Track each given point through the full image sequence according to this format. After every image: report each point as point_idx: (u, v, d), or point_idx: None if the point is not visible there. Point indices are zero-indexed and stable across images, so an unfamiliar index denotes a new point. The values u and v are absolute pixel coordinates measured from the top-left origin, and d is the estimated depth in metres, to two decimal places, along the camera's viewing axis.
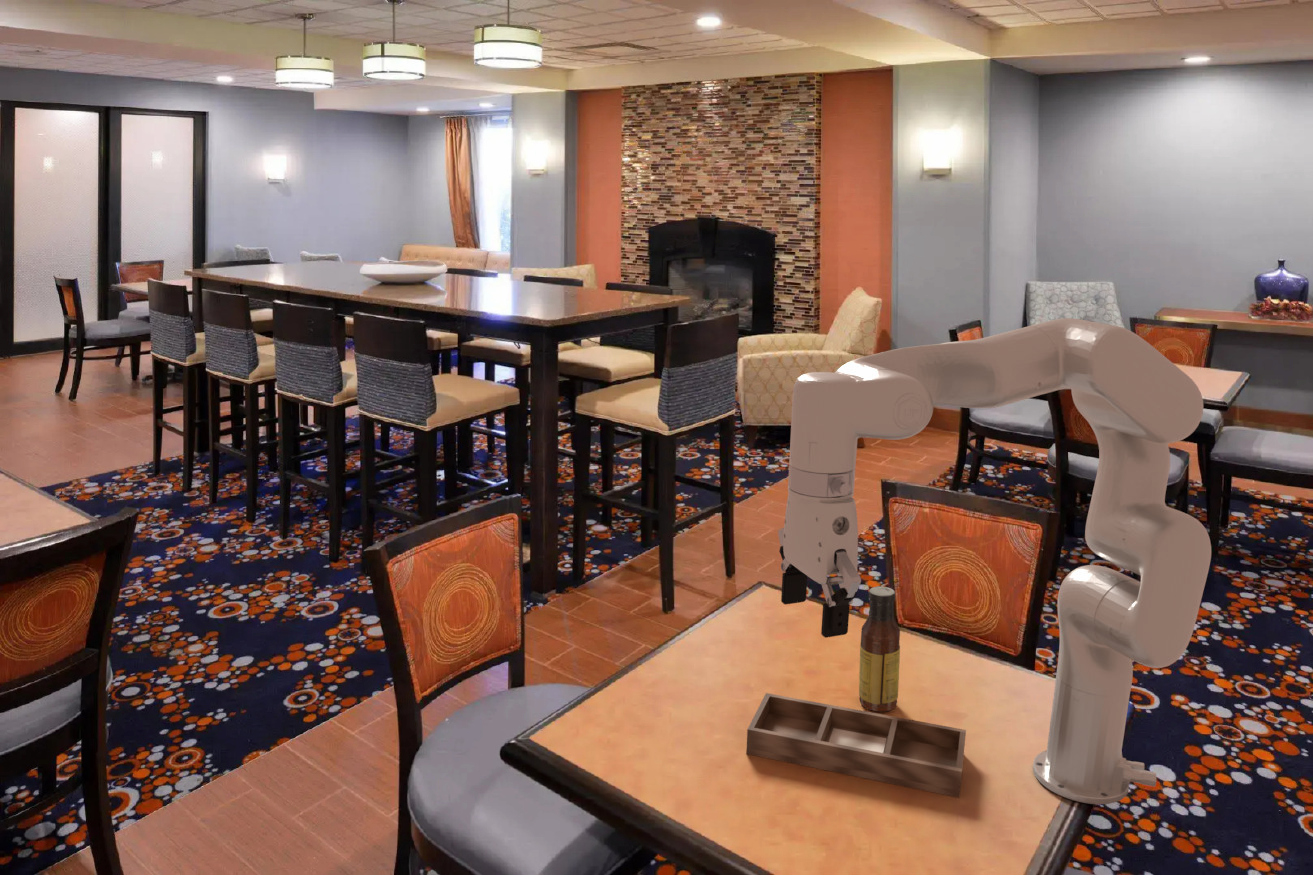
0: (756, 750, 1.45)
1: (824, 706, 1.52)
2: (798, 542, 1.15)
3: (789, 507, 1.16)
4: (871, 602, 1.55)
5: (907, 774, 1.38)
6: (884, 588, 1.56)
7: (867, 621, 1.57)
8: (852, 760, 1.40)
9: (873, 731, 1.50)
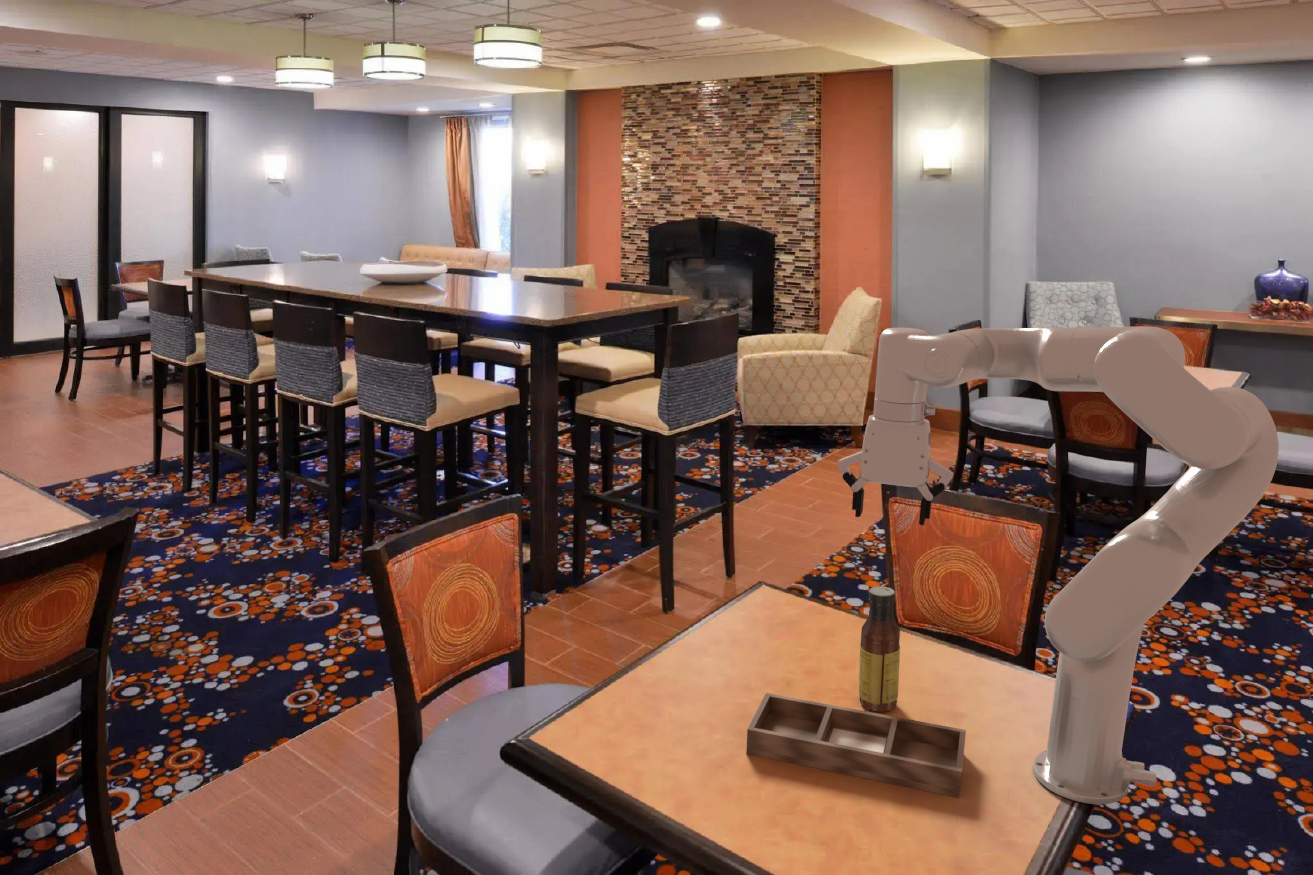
0: (756, 750, 1.45)
1: (824, 706, 1.52)
2: (891, 461, 1.48)
3: (875, 437, 1.48)
4: (871, 602, 1.55)
5: (907, 774, 1.38)
6: (884, 588, 1.56)
7: (867, 621, 1.57)
8: (852, 760, 1.40)
9: (873, 731, 1.50)
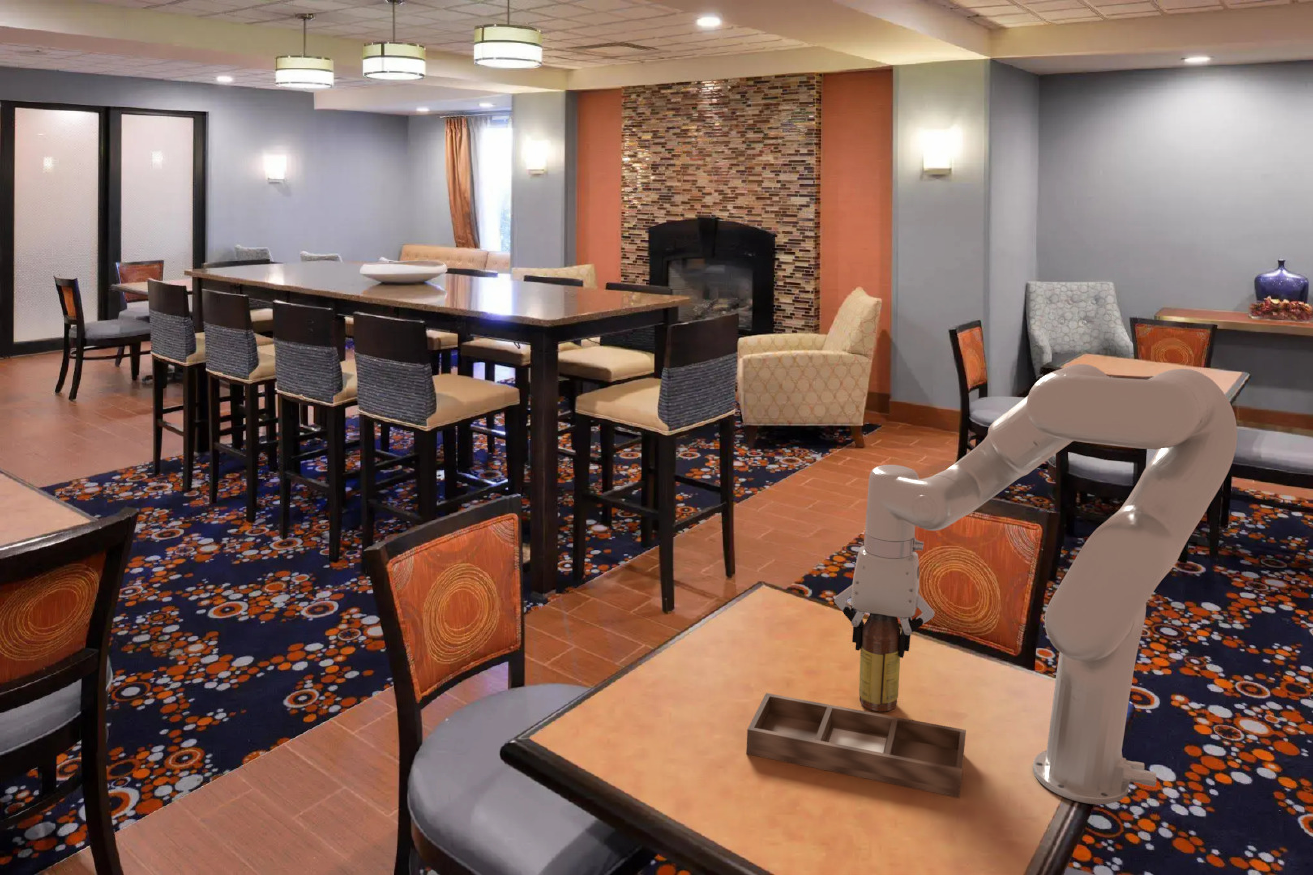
0: (756, 750, 1.45)
1: (824, 706, 1.52)
2: (881, 594, 1.53)
3: (866, 570, 1.54)
4: None
5: (907, 774, 1.38)
6: None
7: (868, 621, 1.57)
8: (852, 760, 1.40)
9: (873, 731, 1.50)
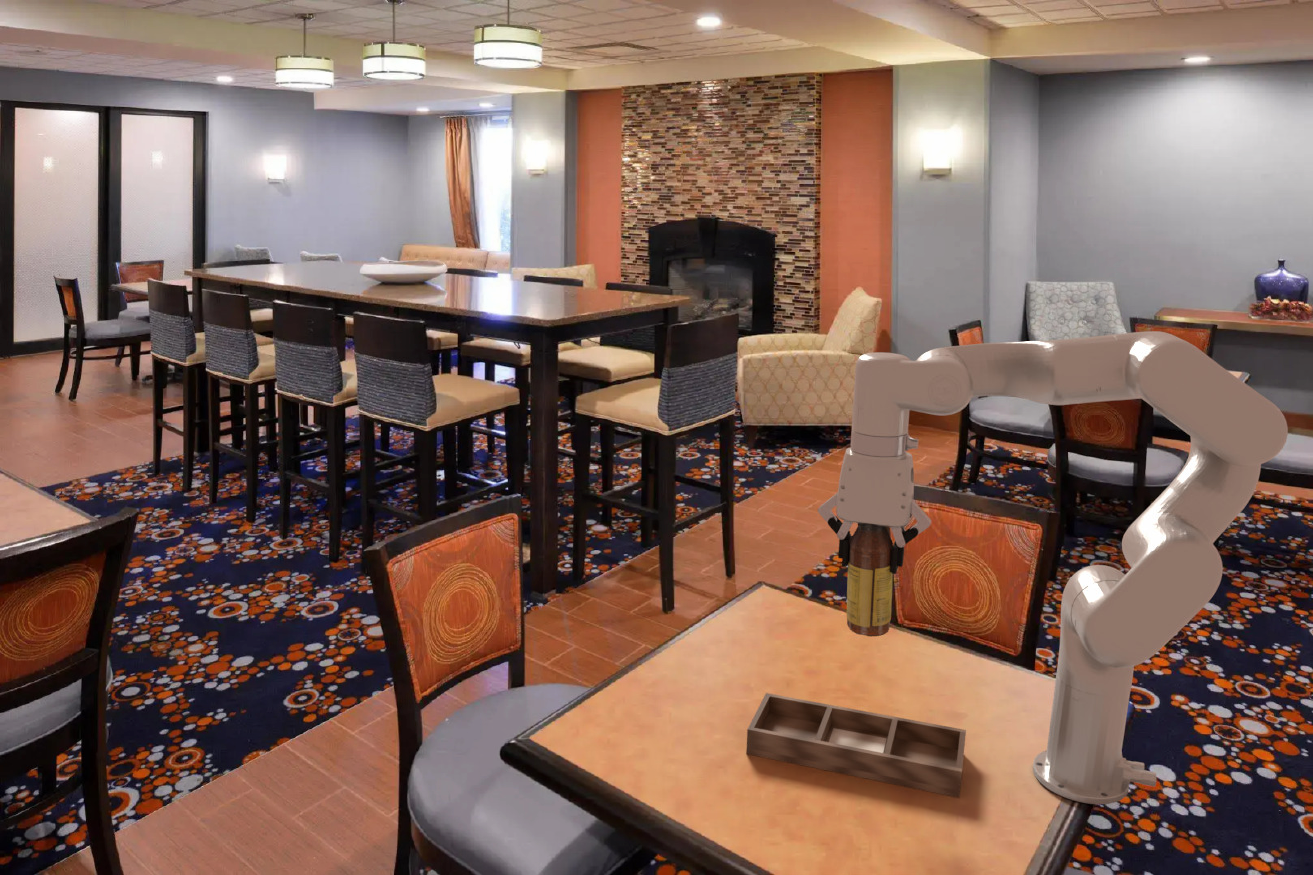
0: (756, 750, 1.45)
1: (824, 706, 1.52)
2: (870, 499, 1.35)
3: (853, 473, 1.35)
4: None
5: (907, 774, 1.38)
6: None
7: (856, 533, 1.38)
8: (852, 760, 1.40)
9: (873, 731, 1.50)
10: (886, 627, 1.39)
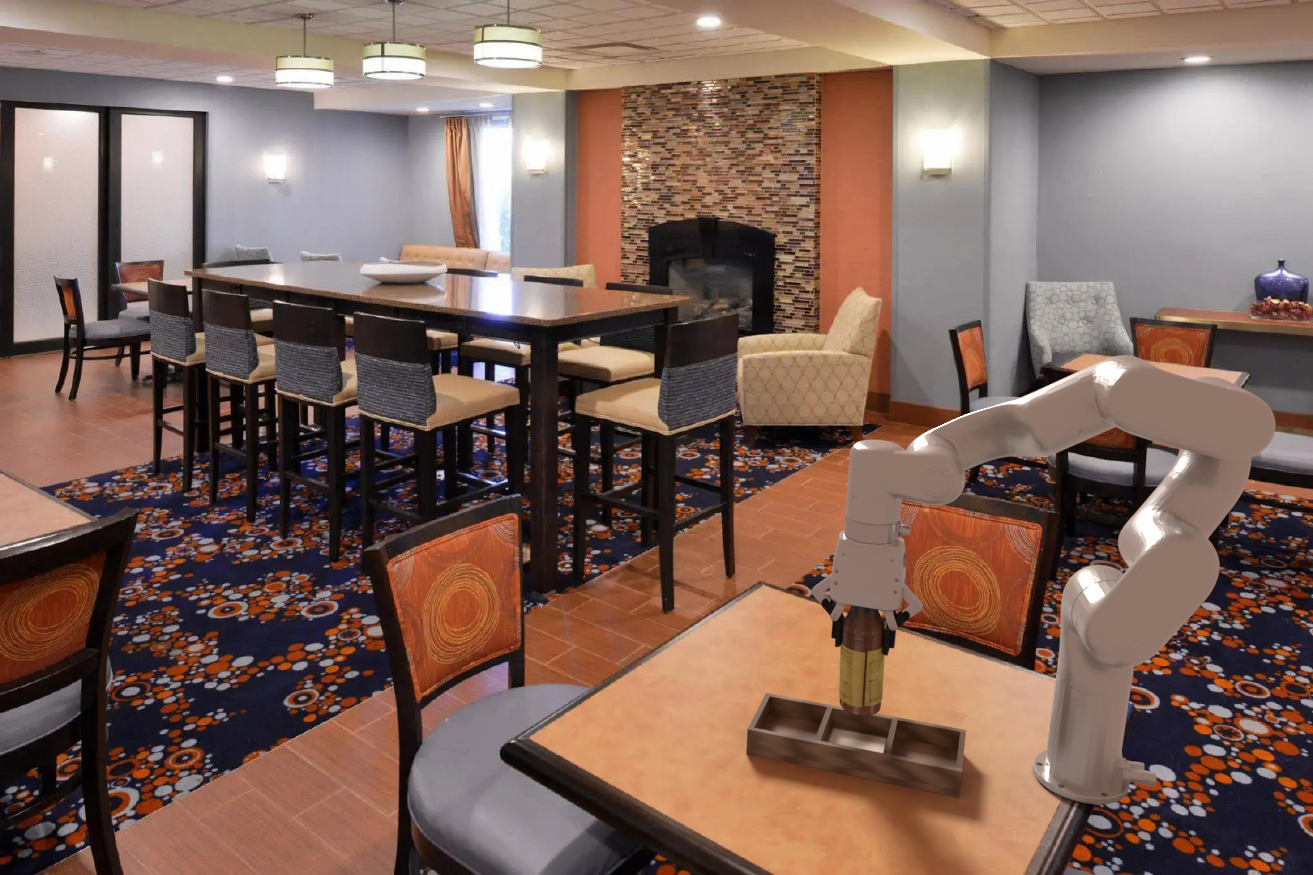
0: (756, 750, 1.45)
1: (824, 706, 1.52)
2: (863, 584, 1.37)
3: (846, 557, 1.37)
4: None
5: (907, 774, 1.38)
6: None
7: (848, 614, 1.41)
8: (852, 760, 1.40)
9: (873, 731, 1.50)
10: (878, 706, 1.42)
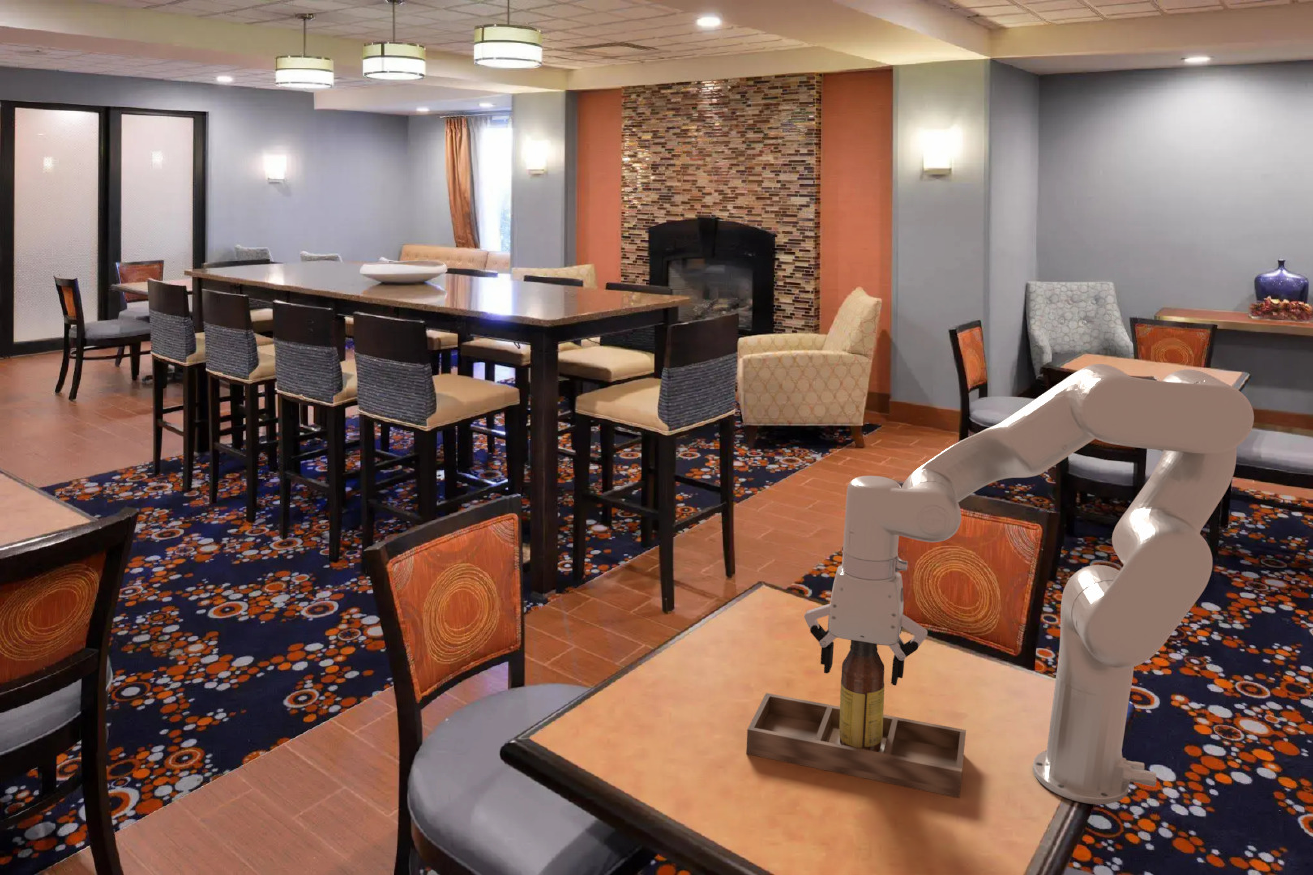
0: (756, 750, 1.45)
1: (824, 706, 1.52)
2: (861, 618, 1.39)
3: (844, 592, 1.39)
4: None
5: (907, 774, 1.38)
6: None
7: (848, 656, 1.42)
8: (852, 760, 1.40)
9: None
10: (878, 747, 1.43)
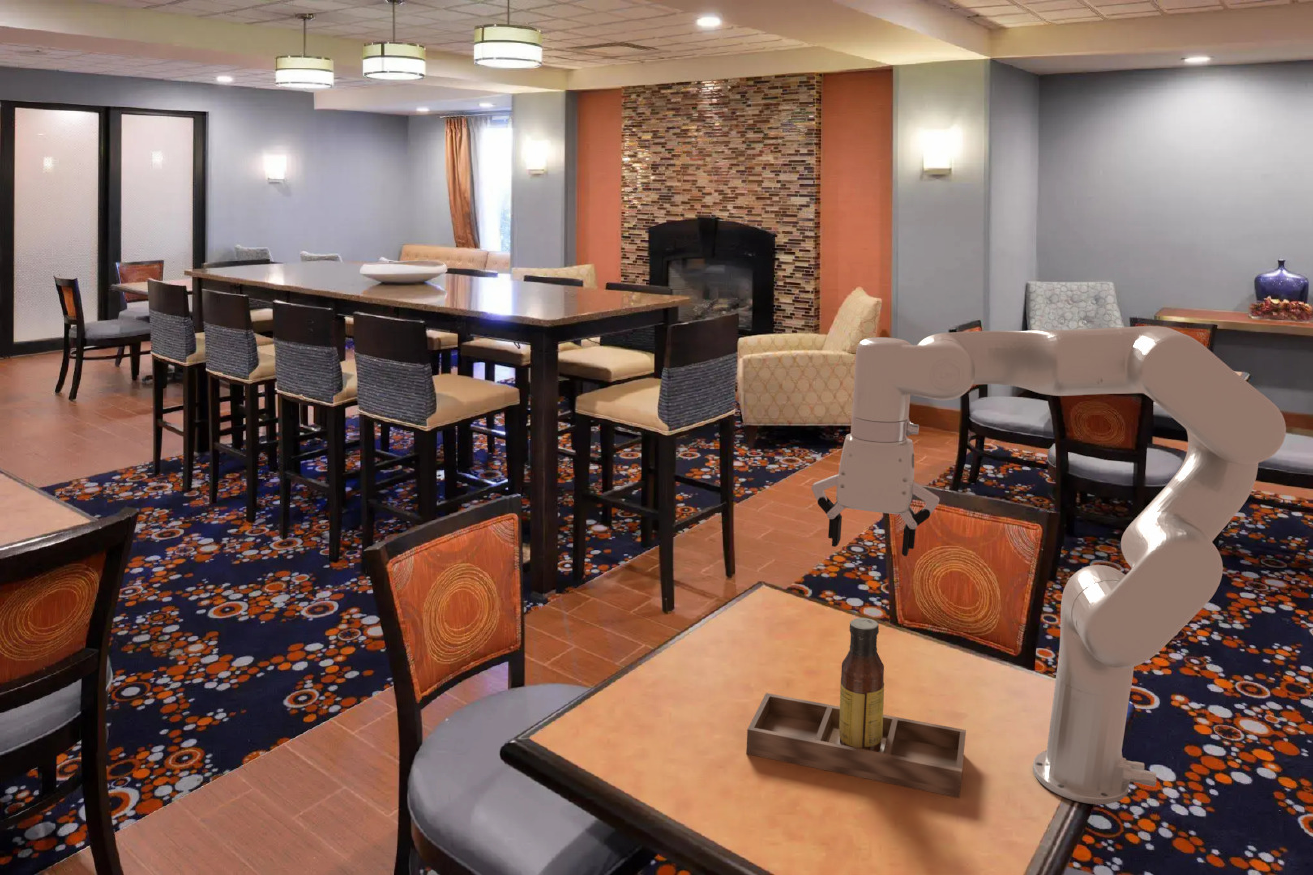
0: (756, 750, 1.45)
1: (824, 706, 1.52)
2: (871, 485, 1.34)
3: (853, 459, 1.34)
4: (852, 635, 1.41)
5: (907, 774, 1.38)
6: (866, 620, 1.42)
7: (848, 656, 1.42)
8: (852, 760, 1.40)
9: None
10: (878, 747, 1.43)
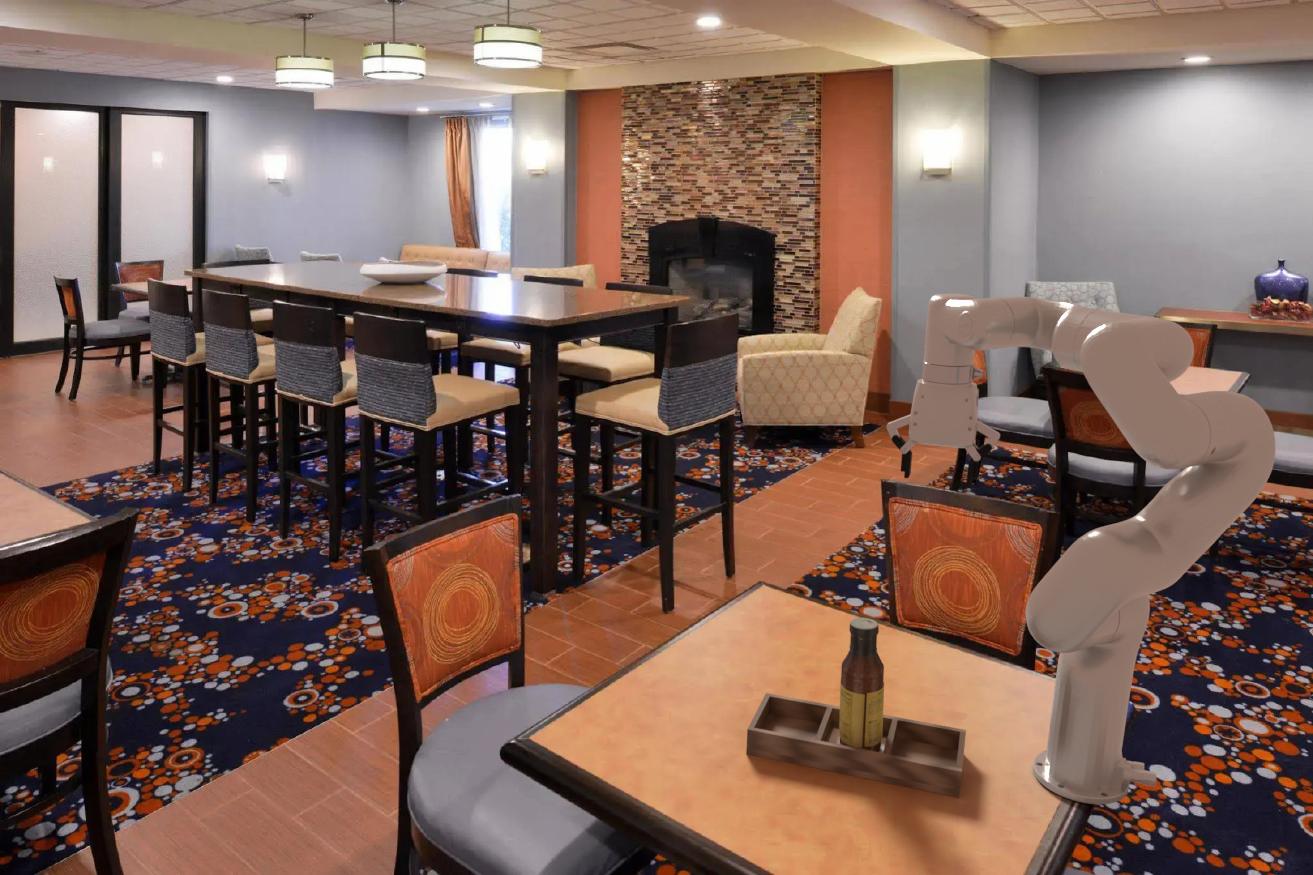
0: (756, 750, 1.45)
1: (824, 706, 1.52)
2: (940, 423, 1.53)
3: (925, 399, 1.54)
4: (852, 636, 1.41)
5: (907, 774, 1.38)
6: (866, 620, 1.42)
7: (848, 656, 1.42)
8: (852, 760, 1.40)
9: None
10: (878, 747, 1.43)
